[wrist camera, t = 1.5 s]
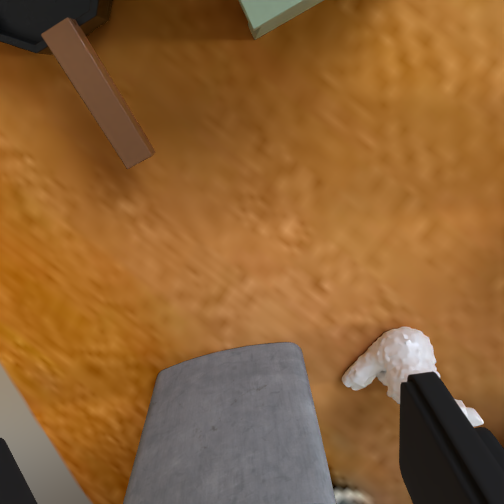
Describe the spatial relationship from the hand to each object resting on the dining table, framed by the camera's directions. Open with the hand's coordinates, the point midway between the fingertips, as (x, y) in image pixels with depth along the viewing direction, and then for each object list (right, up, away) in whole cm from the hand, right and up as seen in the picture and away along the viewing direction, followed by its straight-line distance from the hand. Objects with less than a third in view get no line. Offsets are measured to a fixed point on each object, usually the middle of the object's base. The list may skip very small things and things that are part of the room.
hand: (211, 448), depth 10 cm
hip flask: (-2, -7, +34) cm, 35 cm away
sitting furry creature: (+16, -6, +34) cm, 38 cm away
